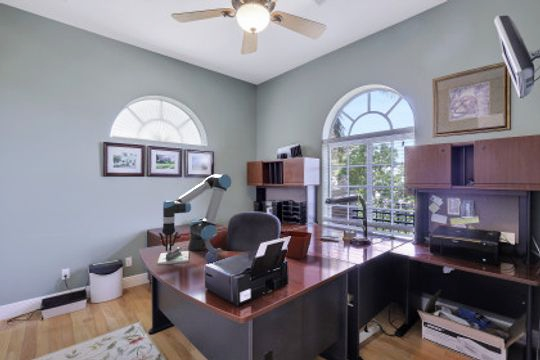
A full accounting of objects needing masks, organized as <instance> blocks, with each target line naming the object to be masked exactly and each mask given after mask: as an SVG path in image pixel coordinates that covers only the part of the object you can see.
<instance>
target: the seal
mask: <svg viewBox="0 0 540 360" xmlns="http://www.w3.org/2000/svg"><path fill="white" fill-rule="evenodd" d="M218 234H219V233H217V232H216V234H215V235H213V236H211V237H209V239H208V240H206V247H207V248H206V249H207V250H208V252H206V254H205V256H204V259H205V261H206V262H207V263H209V264H212V263H211V262H214V263H216V261H217V260H218V253H223V250H222V248H221V247H217V248H215V247H213V245H212V244H211V241H210V240H212V239H213V238H215V236H217V235H218ZM212 237H213V238H212ZM211 238H212V239H211Z"/></svg>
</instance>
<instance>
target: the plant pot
mask: <svg viewBox="0 0 540 360" xmlns="http://www.w3.org/2000/svg"><path fill="white" fill-rule="evenodd" d="M312 235H313V234H312V232H308V231H307V232H306V231H297V230H287V231H286V232H284V233H281V234H279V236H280V239H281V238H283V237H287V236H291V240H290V243H289V246H288V252H287V255H286V256H285V257H286V258H290V259H291V258H293V259H297V260H302V259H304V258H305V256H307V254H308V252H309V248H310V245H311V239H312Z"/></svg>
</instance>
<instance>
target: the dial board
mask: <svg viewBox="0 0 540 360" xmlns="http://www.w3.org/2000/svg"><path fill="white" fill-rule="evenodd" d="M189 251H190V250H187V251H186V250H185V251H182V250H181V254H178V255H177V256H175V257H174V258H172V259H170V260H169V261H166V254H167V252H161V253H160V255H159V257H158V261H157V264H156V265H158V266H160V265H170V264H171V265H172V264H182V263H189V254H190V253H189Z"/></svg>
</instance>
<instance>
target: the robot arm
mask: <svg viewBox="0 0 540 360" xmlns="http://www.w3.org/2000/svg"><path fill="white" fill-rule="evenodd" d="M231 186H232V179H231V176H230V175H229V174H226V173H214V174H211V175H209V176H208V177H206V178H205V179H203V180H202V182H201V183H200V184H198V185H196V186H195V187H193V188H192V189H190V190H189V191H187V192H186V193H184V194H182V195H181V196H180V197H179V198H177V199H175V200H165V201H163V204H162V206H163V207H162V215H163V217H162V222H163V224H162V231H160V232H159V233H158V235H159V236H160V238H161V239H160V240H161V243H162V246H163V247H165V252H166V253H167V254H168V253H170V252H171V251H172V247H174V246H175V243H176V239H177V236H178V235H179V231H177V230H176V228H175V221H176V220H175V218H176V217H175V215H176V214H186V213H190V212H191V210H192V204H191V202H192V201H193V200H195V199H197V198H198V197H199V196H201V195H203V194H204V193H206V191H210V190H212V189H213V191H212V194H211V196H210V201H209V204H208V206H207V208H206V209H207V210H206V213H205V216H204V218H203V219H200V220H193V221H190V224H189V232H190V233H189V242H188V245H187V251H192V252H197V251H198V252H201V251H204V250H206V249H207V247H206V242H207V240H208V239H209V237H211V236H213V235H215V234H217V228H216V226H217V223H216V219H217V216H218V213H219V210H220V207H221V204H222V200H223V197H224V194H225V193H226V192H227V189H228V188H230V187H231ZM173 235H174V237H173ZM164 236H165V239H164ZM215 236H216V235H215ZM172 237H173V238H172ZM213 238H214V237H212V238H211V239H210V240H212V239H213ZM172 239H173V241H172Z"/></svg>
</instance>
